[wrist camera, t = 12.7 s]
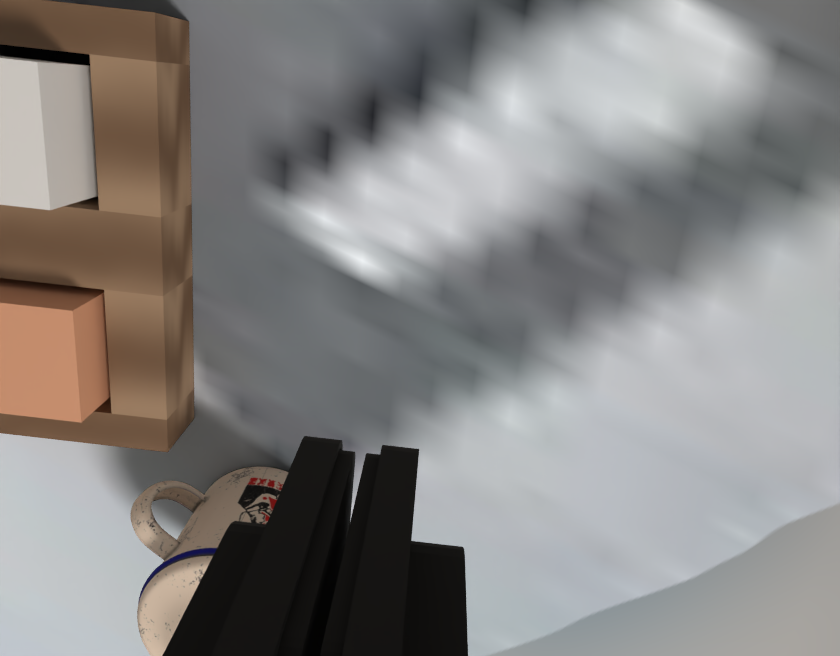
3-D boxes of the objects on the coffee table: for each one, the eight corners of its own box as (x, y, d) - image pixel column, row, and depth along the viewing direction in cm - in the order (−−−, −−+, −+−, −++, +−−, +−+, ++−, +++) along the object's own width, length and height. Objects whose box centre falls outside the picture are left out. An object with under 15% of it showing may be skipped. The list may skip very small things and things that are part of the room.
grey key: (-26, 52, 31) (-111, 45, 27) (99, 66, 31) (37, 62, 27) (-12, 180, 33) (-87, 194, 29) (106, 193, 33) (50, 210, 29)
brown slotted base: (-73, -8, 33) (-141, -21, 29) (188, 21, 32) (154, 12, 29) (-19, 393, 40) (-67, 425, 36) (194, 418, 40) (167, 452, 36)
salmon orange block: (12, 269, 36) (-53, 296, 31) (121, 282, 36) (72, 310, 31) (23, 369, 38) (-36, 409, 33) (126, 381, 38) (81, 422, 33)
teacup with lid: (366, 525, 42) (337, 678, 31) (273, 602, 45) (215, 769, 34) (223, 401, 40) (137, 520, 29) (132, 489, 42) (20, 630, 31)
